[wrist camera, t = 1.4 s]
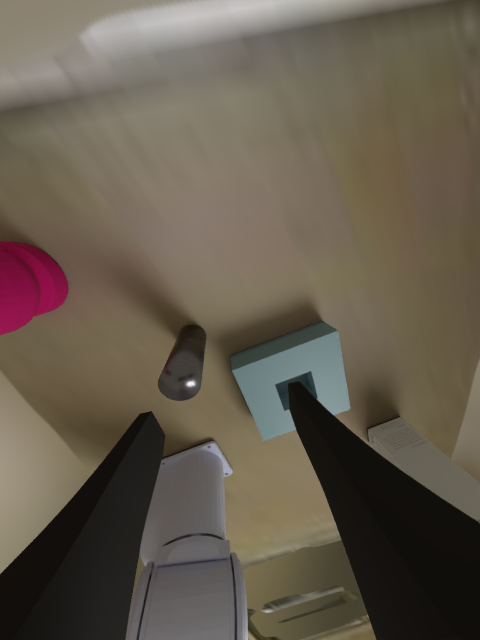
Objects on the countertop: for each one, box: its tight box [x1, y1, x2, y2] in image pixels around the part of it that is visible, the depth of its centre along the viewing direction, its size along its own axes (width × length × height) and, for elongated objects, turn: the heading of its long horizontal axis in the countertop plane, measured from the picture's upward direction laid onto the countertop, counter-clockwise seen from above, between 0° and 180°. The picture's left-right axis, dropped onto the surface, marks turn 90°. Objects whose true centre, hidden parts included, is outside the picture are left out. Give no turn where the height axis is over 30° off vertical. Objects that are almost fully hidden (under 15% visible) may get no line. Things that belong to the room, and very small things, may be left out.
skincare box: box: [368, 417, 480, 522], centre depth 25 cm, size 6×4×12 cm
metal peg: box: [158, 325, 206, 401], centre depth 17 cm, size 3×3×8 cm
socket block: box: [230, 321, 350, 441], centre depth 23 cm, size 12×12×3 cm
